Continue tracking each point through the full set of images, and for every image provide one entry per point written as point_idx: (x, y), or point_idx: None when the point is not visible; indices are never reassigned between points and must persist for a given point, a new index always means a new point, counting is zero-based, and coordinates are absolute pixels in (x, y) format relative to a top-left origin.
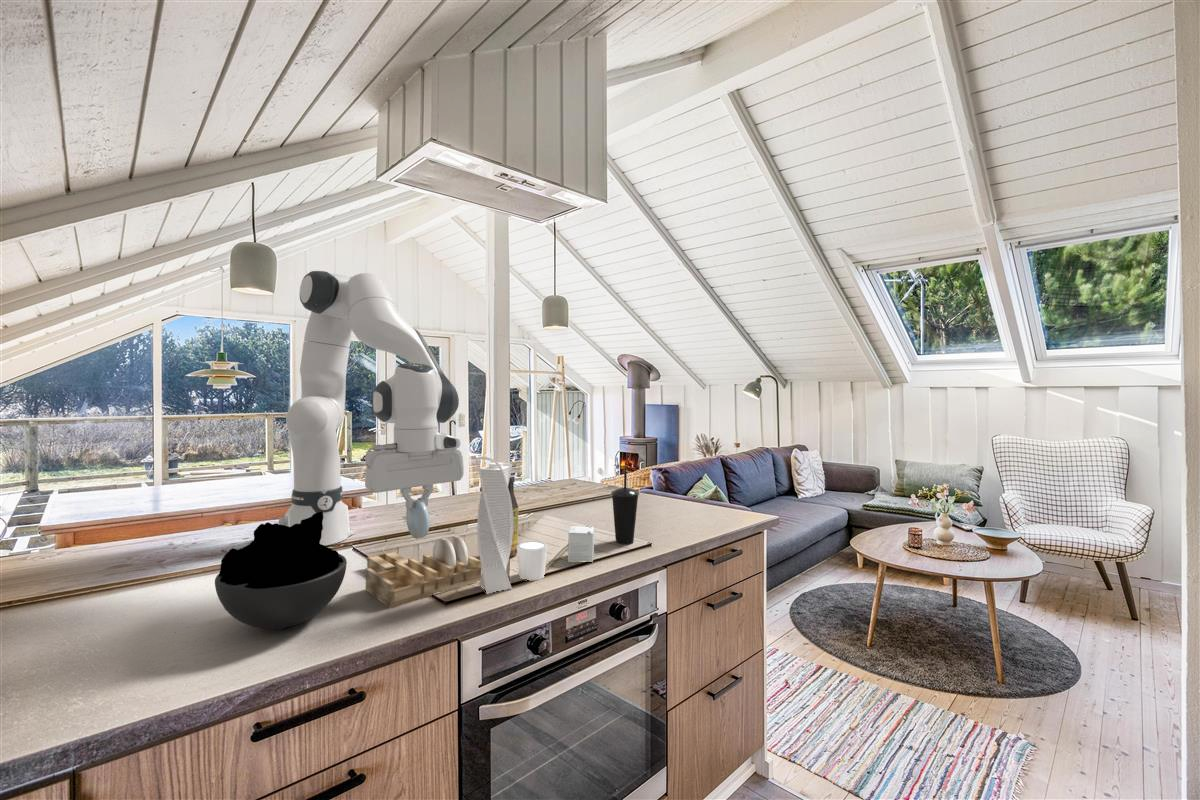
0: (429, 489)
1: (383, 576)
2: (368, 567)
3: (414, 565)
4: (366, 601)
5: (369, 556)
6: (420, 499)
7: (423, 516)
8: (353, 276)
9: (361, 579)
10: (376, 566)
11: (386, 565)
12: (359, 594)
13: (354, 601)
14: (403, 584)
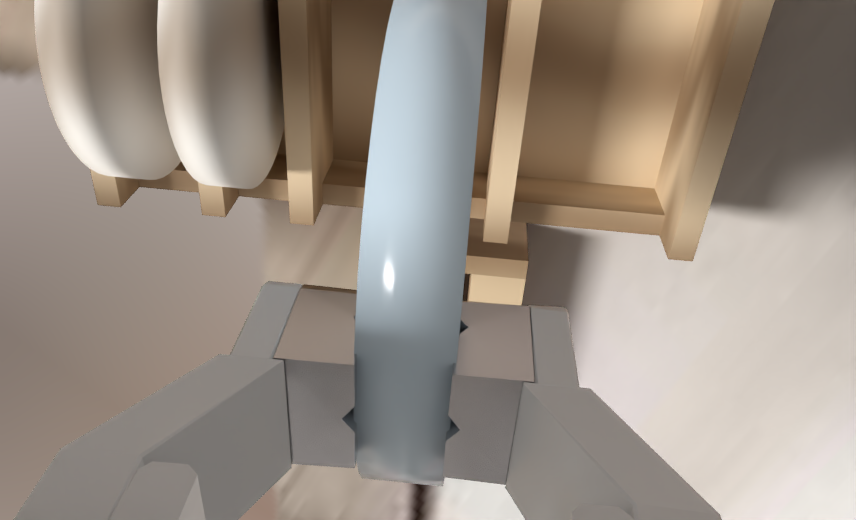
0: (137, 468)
1: (587, 196)
2: None
3: None
4: (768, 51)
5: None
6: (355, 388)
7: (482, 31)
8: None
9: (590, 327)
10: None
11: (501, 301)
12: (722, 168)
13: (803, 100)
14: (532, 65)
